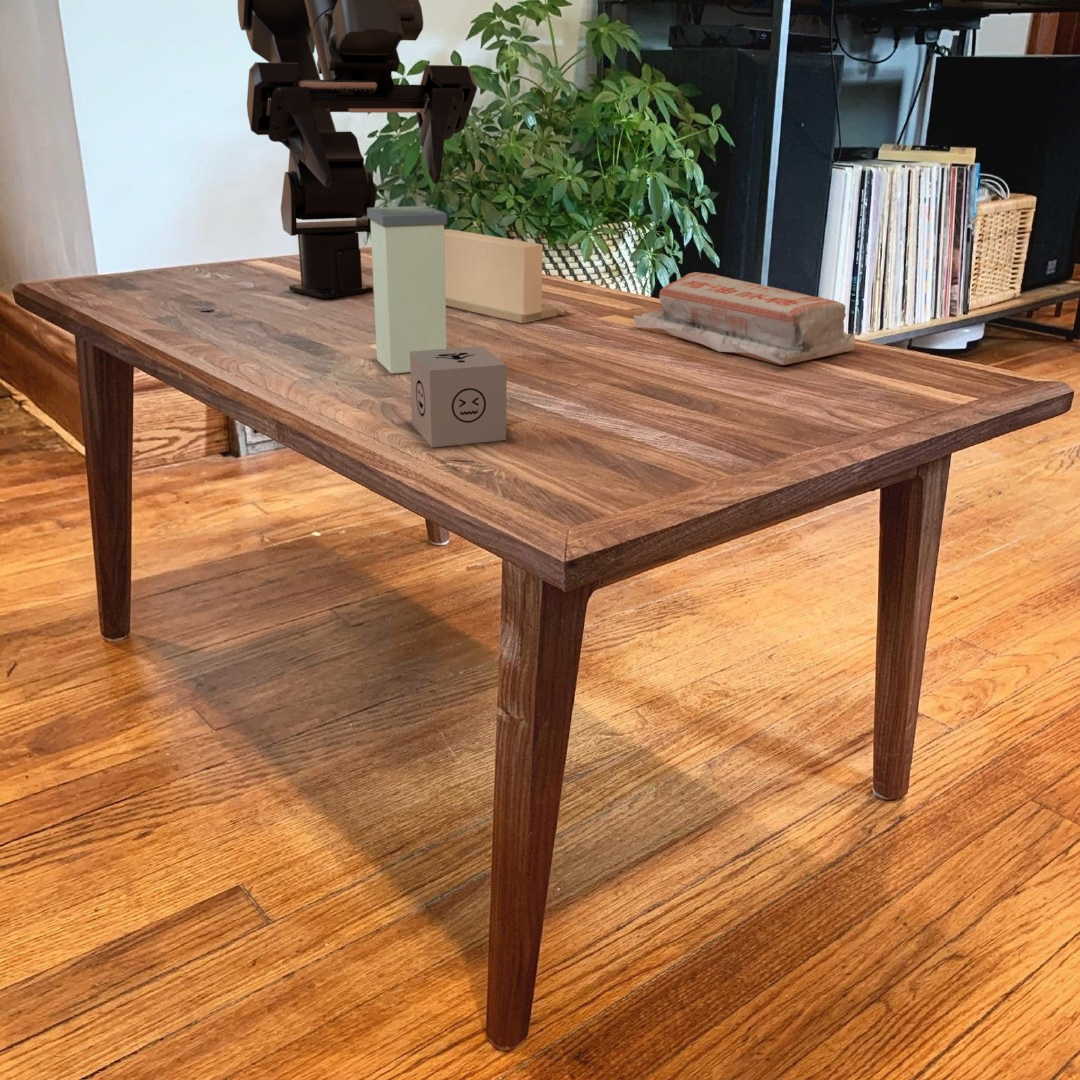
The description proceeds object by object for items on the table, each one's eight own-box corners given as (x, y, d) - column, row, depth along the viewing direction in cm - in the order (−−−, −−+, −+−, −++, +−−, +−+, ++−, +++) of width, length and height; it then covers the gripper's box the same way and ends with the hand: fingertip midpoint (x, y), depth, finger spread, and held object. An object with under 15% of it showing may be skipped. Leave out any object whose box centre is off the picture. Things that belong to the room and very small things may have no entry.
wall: (430, 302, 109) (428, 231, 107) (466, 295, 113) (466, 227, 110) (521, 323, 101) (522, 247, 98) (557, 315, 105) (559, 241, 102)
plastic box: (373, 359, 88) (366, 207, 83) (432, 354, 90) (428, 205, 85) (389, 374, 84) (382, 215, 79) (450, 369, 86) (447, 213, 81)
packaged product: (866, 296, 91) (790, 310, 85) (858, 352, 93) (783, 370, 87) (709, 265, 104) (633, 276, 98) (705, 315, 106) (631, 328, 100)
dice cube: (482, 417, 74) (482, 346, 72) (506, 439, 70) (506, 364, 68) (412, 424, 73) (409, 351, 71) (431, 447, 68) (429, 370, 66)
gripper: (239, -53, 82) (276, 113, 78) (469, -41, 89) (516, 113, 85) (233, 55, 92) (266, 209, 88) (441, 59, 99) (481, 202, 95)
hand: (383, 181), depth 89 cm, fingers open, 9 cm apart
